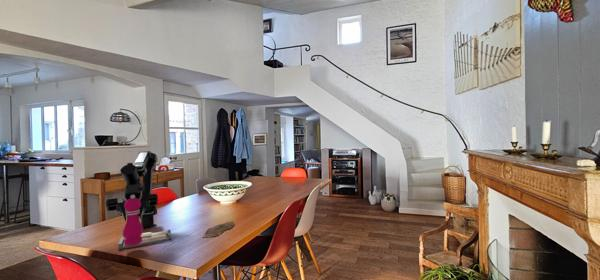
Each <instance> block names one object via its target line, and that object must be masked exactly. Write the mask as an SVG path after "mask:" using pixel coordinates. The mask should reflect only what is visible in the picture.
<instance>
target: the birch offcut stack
mask: <svg viewBox="0 0 600 280" xmlns="http://www.w3.org/2000/svg"><path fill="white" fill-rule="evenodd" d="M166 233H167V232H166V230H163V231H157V232H152V231H149V232H143V233H142V235H141V237H142V242H141V243H146V242H152V241H157V240H163V239H167V236H166ZM141 243H139V244H141ZM124 246H129V245H125V244H124Z"/></svg>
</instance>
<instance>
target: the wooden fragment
mask: <svg viewBox="0 0 600 280" xmlns="http://www.w3.org/2000/svg"><path fill="white" fill-rule="evenodd" d="M235 226H236V225H235V222H234V221H233V220H231V221H227V222H224V223H220V224H217V225H214V226H212V227H210V228H207V230H206V231H205V233H204V235H203V236H202V239H208V238H215V237H219V236H220V235H221V234H223V233H224V232H225V231H228V230H232V228H233V227H235Z"/></svg>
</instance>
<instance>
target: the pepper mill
mask: <svg viewBox="0 0 600 280" xmlns="http://www.w3.org/2000/svg"><path fill="white" fill-rule="evenodd" d="M130 198H131V199H128V200H127V201H126V202H125V204H124V208H125V212H126V221H125V222H126V223H125V225H124V227H123V231H122V237H124V244H125V245H135V244H139V243H141V242H142V237H141V235H142V233H144V229H143V227H142V225H141V220H140V218H139V213H140V209H139V208H140V206H141V201H140V200H139V199H137V198H135V195H131V196H130Z"/></svg>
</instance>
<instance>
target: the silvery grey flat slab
mask: <svg viewBox="0 0 600 280" xmlns="http://www.w3.org/2000/svg"><path fill="white" fill-rule="evenodd" d="M166 236H167V239H163V240H157V241H152V242H146V243H141V244H135V245H129V246H124V240H125V237H124V236H122V237H120V239H119V241H118V250H119V249H120V250H124V248H125V249H129V248H130V249H131V248H135V247H139V246H140V247H141V246H147V245H151V244H156V243H162V242H168V241H171V240H172V233H171V229H167V232H166Z"/></svg>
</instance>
